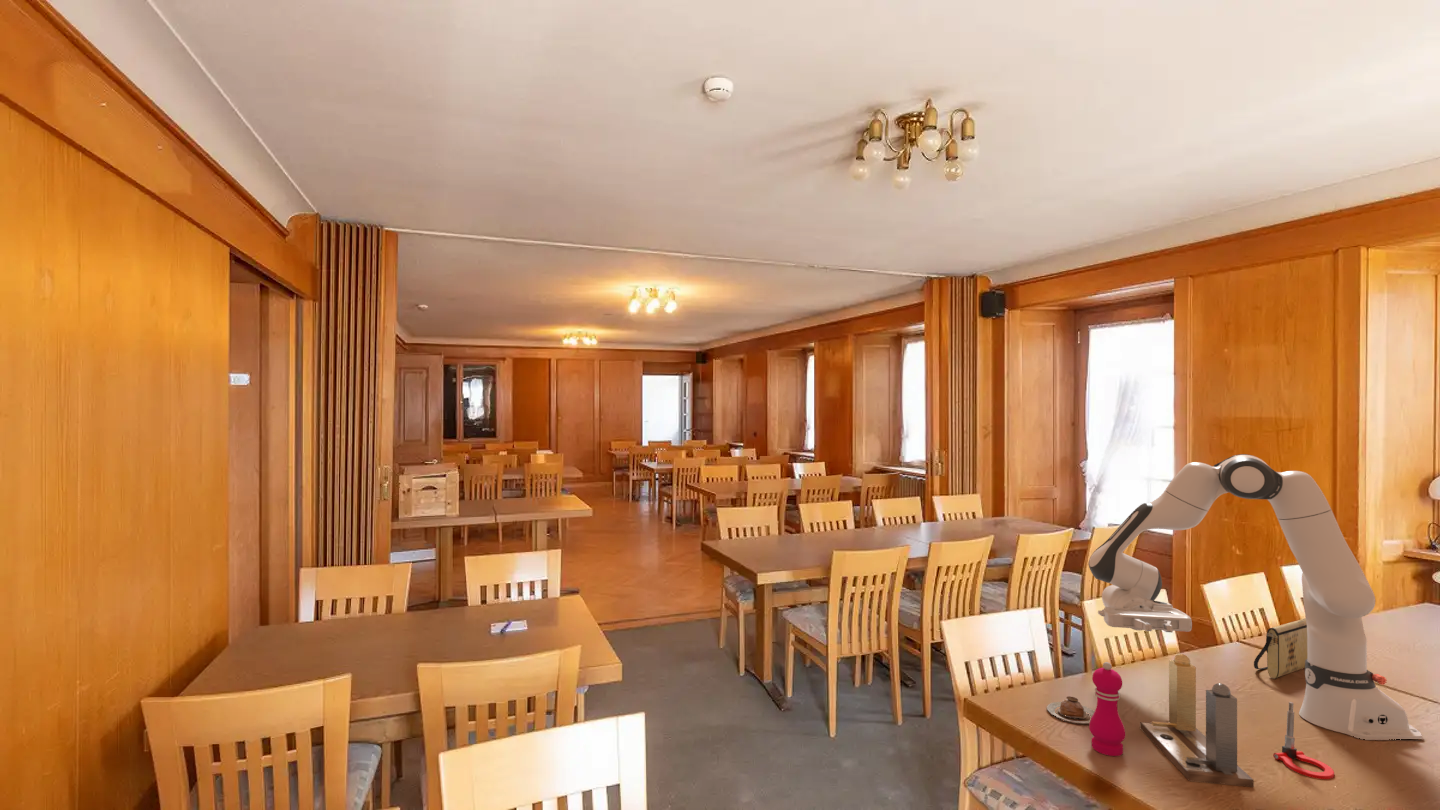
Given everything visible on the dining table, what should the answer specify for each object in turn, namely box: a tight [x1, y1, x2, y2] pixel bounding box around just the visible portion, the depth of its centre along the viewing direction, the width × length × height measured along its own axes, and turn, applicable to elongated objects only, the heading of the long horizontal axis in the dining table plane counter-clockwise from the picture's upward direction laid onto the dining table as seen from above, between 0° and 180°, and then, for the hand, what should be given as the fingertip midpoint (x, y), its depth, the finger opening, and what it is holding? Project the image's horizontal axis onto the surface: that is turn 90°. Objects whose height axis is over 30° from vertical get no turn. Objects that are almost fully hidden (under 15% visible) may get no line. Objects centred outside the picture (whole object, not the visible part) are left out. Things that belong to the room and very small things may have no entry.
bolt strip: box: [1142, 722, 1233, 775], centre depth 153 cm, size 9×22×1 cm, turn 169°
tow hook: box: [1272, 701, 1335, 780], centre depth 147 cm, size 8×13×9 cm
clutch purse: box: [1253, 617, 1307, 680], centre depth 204 cm, size 30×7×15 cm, turn 118°
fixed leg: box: [1186, 682, 1238, 773], centre depth 145 cm, size 8×4×18 cm, turn 79°
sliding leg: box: [1150, 653, 1197, 731], centre depth 161 cm, size 8×4×17 cm, turn 79°
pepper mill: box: [1088, 661, 1126, 757], centre depth 155 cm, size 7×7×20 cm
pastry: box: [1046, 696, 1095, 725], centre depth 172 cm, size 12×12×5 cm
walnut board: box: [1139, 721, 1255, 788], centre depth 152 cm, size 12×24×2 cm, turn 169°
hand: (1159, 628), depth 173 cm, fingers open, 3 cm apart
